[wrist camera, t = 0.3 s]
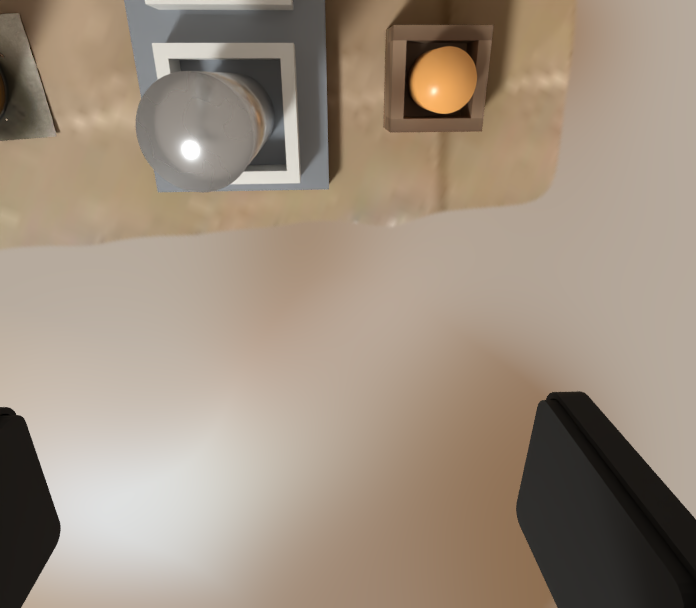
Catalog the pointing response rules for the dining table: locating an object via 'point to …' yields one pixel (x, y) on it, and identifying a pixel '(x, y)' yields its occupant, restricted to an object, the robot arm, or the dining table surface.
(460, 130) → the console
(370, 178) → the dining table surface
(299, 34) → the double square holder tray
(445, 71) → the button
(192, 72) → the grey domed bottle
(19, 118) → the condiment
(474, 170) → the dining table surface
